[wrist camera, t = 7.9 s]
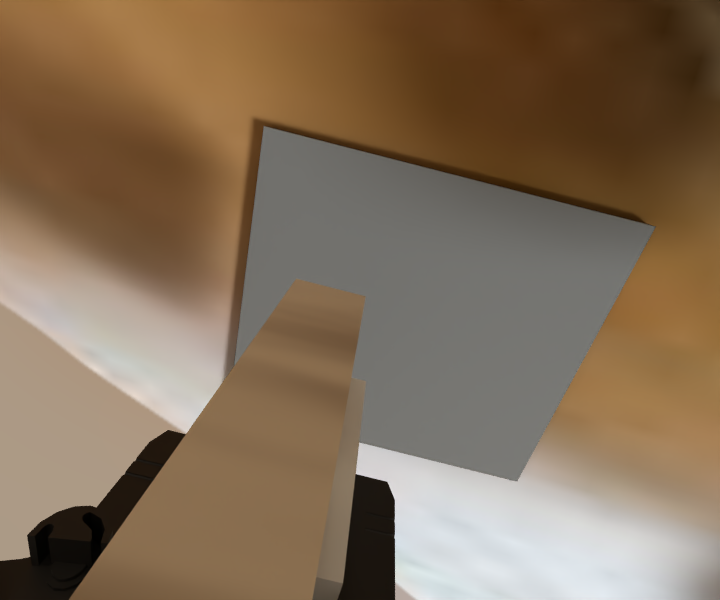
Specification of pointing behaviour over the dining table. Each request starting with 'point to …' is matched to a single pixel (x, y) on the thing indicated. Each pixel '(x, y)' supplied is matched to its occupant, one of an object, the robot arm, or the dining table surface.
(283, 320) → the wooden block
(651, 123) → the dining table surface
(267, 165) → the mat
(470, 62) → the dining table surface
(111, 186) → the dining table surface
